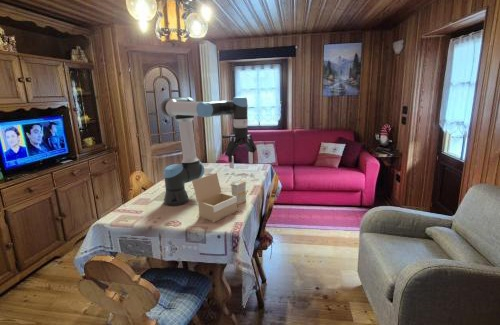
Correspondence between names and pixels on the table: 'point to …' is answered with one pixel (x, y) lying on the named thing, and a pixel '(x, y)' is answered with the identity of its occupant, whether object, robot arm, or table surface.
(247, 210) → the table surface
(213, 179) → the lid
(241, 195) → the supplement box
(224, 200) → the carton
